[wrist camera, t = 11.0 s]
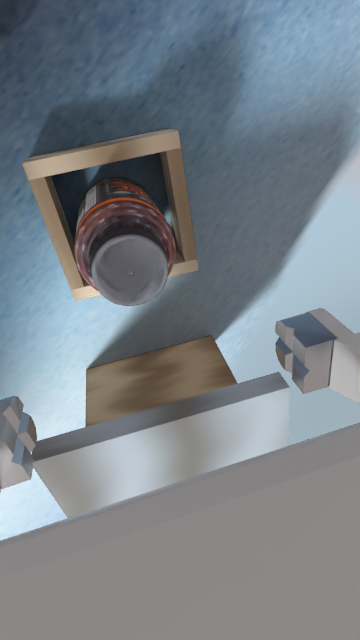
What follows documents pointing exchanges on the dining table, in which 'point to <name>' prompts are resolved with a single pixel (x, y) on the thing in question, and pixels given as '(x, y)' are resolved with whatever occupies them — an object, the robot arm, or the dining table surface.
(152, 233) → the supplement bottle
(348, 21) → the dining table surface
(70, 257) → the socket
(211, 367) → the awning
